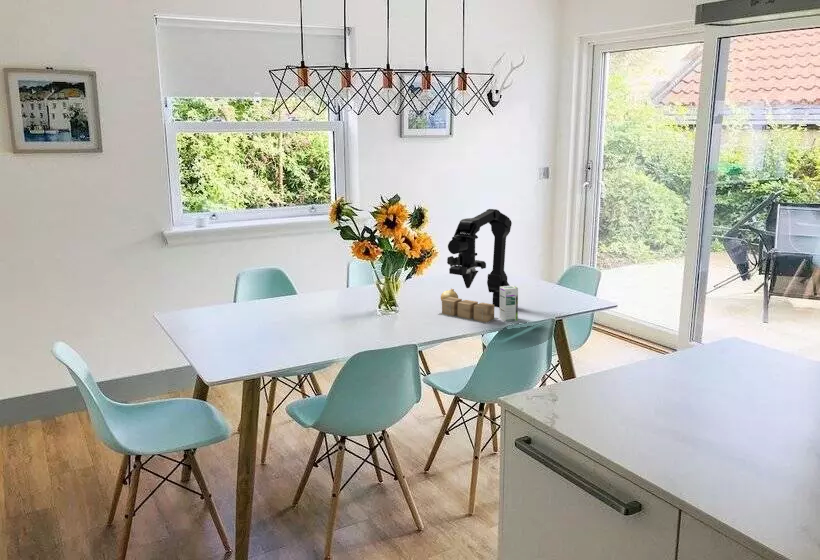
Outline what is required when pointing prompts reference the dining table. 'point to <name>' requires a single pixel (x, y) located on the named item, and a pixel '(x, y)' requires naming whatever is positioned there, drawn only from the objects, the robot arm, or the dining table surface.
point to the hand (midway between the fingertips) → (467, 288)
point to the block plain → (466, 309)
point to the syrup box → (509, 303)
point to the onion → (449, 294)
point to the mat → (466, 318)
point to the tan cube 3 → (450, 306)
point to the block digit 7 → (484, 312)
